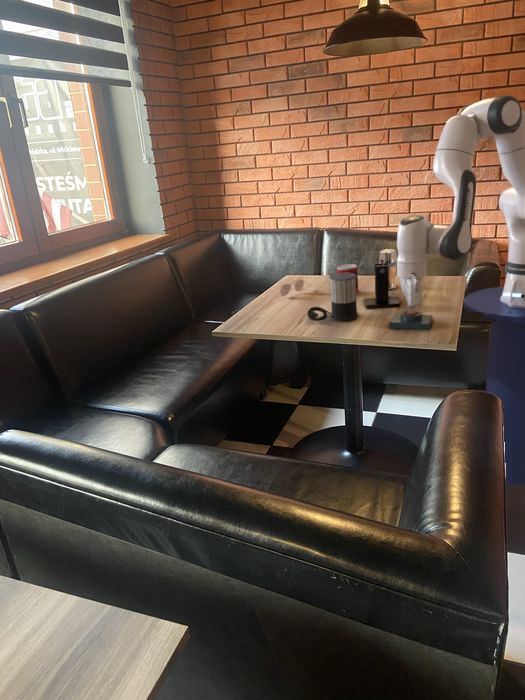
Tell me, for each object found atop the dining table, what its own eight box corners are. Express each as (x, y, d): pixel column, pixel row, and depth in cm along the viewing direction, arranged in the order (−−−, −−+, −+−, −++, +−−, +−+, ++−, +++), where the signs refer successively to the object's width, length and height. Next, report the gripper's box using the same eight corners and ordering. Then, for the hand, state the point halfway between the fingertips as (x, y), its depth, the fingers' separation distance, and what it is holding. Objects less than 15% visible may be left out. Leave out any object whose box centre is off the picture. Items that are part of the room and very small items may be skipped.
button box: (432, 321, 174) (432, 309, 173) (428, 330, 167) (428, 318, 165) (395, 319, 179) (395, 308, 178) (389, 328, 172) (389, 316, 170)
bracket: (397, 299, 201) (397, 260, 196) (400, 306, 193) (400, 266, 187) (364, 301, 202) (363, 262, 197) (366, 308, 194) (365, 268, 189)
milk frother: (363, 316, 185) (362, 274, 180) (328, 327, 178) (325, 284, 173) (337, 309, 197) (335, 269, 192) (302, 319, 189) (299, 278, 184)
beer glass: (386, 284, 222) (385, 248, 217) (400, 286, 218) (400, 249, 212) (376, 288, 218) (375, 252, 213) (391, 290, 213) (390, 253, 208)
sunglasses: (304, 289, 227) (304, 278, 224) (317, 295, 221) (318, 284, 219) (278, 297, 219) (278, 285, 217) (292, 303, 213) (292, 291, 211)
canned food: (339, 290, 220) (338, 264, 216) (359, 290, 218) (358, 263, 214) (336, 295, 213) (335, 268, 209) (357, 295, 211) (355, 268, 207)
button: (418, 316, 173) (418, 310, 172) (416, 319, 170) (416, 314, 169) (406, 315, 174) (406, 310, 174) (404, 319, 171) (404, 313, 171)
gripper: (427, 277, 157) (426, 321, 161) (416, 262, 176) (416, 303, 180) (405, 278, 157) (405, 322, 162) (397, 263, 176) (397, 304, 181)
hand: (410, 312), depth 171 cm, fingers closed, pressing on button
